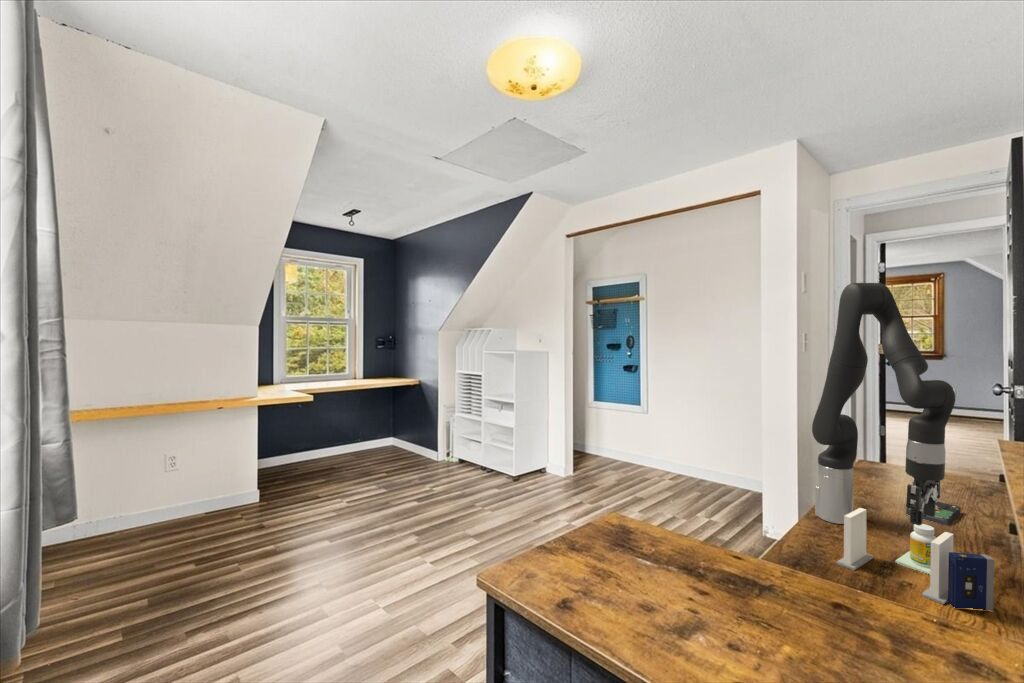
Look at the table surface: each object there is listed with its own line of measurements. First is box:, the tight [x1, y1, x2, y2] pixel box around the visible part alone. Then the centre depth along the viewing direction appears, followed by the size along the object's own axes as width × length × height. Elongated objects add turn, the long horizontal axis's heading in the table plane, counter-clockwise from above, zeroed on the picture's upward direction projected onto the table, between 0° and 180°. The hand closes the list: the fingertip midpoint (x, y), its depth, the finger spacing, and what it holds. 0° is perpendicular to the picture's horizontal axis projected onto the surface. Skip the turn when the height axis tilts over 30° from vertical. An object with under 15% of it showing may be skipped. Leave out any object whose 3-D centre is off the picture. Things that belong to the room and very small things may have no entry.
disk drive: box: [905, 501, 962, 526], centre depth 151 cm, size 10×3×15 cm
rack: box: [836, 507, 955, 605], centre depth 116 cm, size 22×11×13 cm, turn 32°
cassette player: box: [947, 551, 995, 612], centre depth 103 cm, size 7×2×12 cm, turn 78°
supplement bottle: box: [909, 523, 937, 568], centre depth 120 cm, size 5×5×10 cm
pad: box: [894, 550, 930, 576], centre depth 121 cm, size 9×9×1 cm
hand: (922, 519), depth 120 cm, fingers open, 8 cm apart
